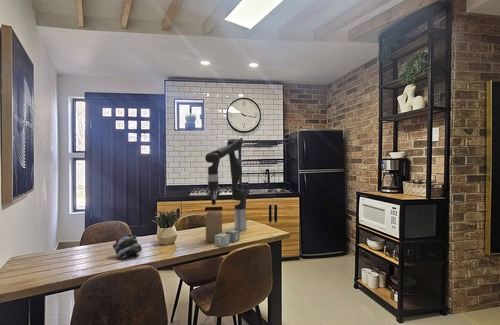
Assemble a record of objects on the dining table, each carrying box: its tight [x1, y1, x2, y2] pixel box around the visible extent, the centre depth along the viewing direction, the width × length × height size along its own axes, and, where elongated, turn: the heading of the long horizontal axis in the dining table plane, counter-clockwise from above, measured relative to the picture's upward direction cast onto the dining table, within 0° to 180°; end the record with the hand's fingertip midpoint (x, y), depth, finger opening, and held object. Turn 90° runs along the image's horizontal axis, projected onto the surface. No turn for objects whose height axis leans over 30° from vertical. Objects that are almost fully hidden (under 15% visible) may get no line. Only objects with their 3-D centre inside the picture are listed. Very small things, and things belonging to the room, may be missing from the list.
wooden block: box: [205, 211, 223, 243], centre depth 209 cm, size 10×10×20 cm
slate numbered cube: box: [225, 229, 240, 244], centre depth 208 cm, size 7×7×7 cm
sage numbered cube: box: [214, 232, 230, 248], centre depth 198 cm, size 7×7×7 cm
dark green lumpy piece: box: [112, 234, 143, 260], centre depth 178 cm, size 15×12×14 cm
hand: (213, 204), depth 210 cm, fingers closed
